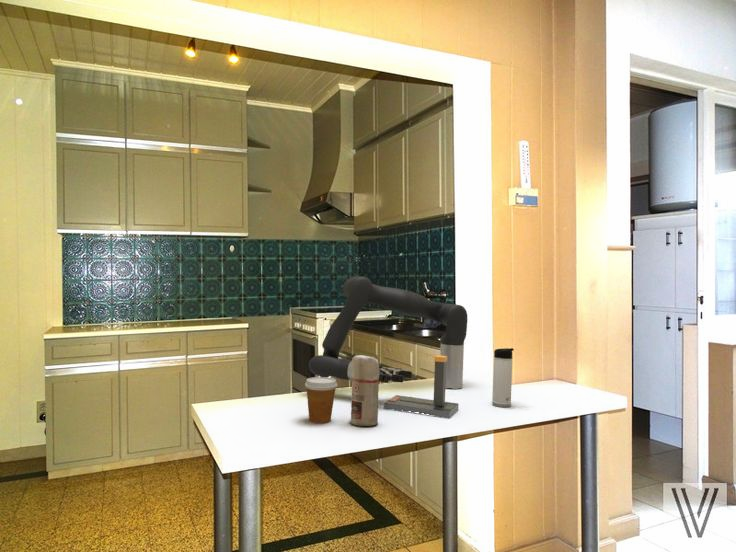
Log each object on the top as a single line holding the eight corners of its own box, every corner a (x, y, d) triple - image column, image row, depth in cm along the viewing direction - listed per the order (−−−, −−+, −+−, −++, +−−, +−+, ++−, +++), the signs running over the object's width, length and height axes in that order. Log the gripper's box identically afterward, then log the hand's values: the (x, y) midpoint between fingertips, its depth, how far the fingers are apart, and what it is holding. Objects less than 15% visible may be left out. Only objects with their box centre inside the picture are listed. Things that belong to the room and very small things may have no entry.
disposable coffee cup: (297, 419, 146) (298, 379, 146) (322, 414, 152) (323, 375, 152) (317, 427, 139) (318, 384, 139) (342, 421, 146) (344, 380, 146)
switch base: (383, 408, 161) (383, 401, 161) (396, 400, 172) (396, 394, 172) (449, 418, 153) (449, 411, 153) (458, 409, 164) (458, 403, 164)
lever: (432, 404, 159) (434, 356, 159) (435, 402, 162) (437, 355, 162) (442, 405, 158) (444, 357, 158) (445, 403, 161) (447, 356, 161)
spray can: (345, 420, 147) (348, 353, 147) (371, 418, 150) (374, 352, 150) (355, 428, 139) (357, 358, 139) (382, 426, 142) (384, 357, 142)
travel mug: (512, 408, 168) (514, 349, 168) (492, 406, 169) (494, 348, 169) (511, 404, 174) (513, 347, 174) (491, 402, 175) (493, 346, 175)
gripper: (355, 363, 165) (400, 369, 158) (371, 358, 178) (414, 362, 171) (354, 386, 165) (400, 392, 158) (371, 378, 178) (414, 384, 171)
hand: (407, 376), depth 165 cm, fingers open, 8 cm apart
